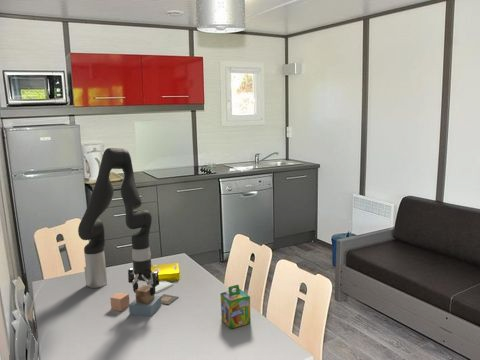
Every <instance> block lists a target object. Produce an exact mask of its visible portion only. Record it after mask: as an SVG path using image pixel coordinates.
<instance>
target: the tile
mask: <svg viewBox="0 0 480 360" xmlns="http://www.w3.org/2000/svg"><path fill="white" fill-rule="evenodd" d="M160 297H161V305H167V306H169V305H171V304H172V303H174V302H175V301H176V300H177V299H179V296H177V295H176V296H175V295H172V294H165V293H164V294H162V295H160Z"/></svg>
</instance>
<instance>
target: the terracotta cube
mask: <svg viewBox="0 0 480 360" xmlns="http://www.w3.org/2000/svg"><path fill="white" fill-rule="evenodd" d="M130 303H131V302H130V295H129V293H125V292H117V293H115V294H114V295H112V296H110V309H111V310H113V311H114V310H115V311H118V312H119V311H120V312H122V311H124V310H126V309H127V308H129V304H130Z"/></svg>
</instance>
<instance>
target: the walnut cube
mask: <svg viewBox="0 0 480 360" xmlns="http://www.w3.org/2000/svg"><path fill="white" fill-rule="evenodd" d="M134 294H135V299H136V302H137V303H142V304H148V303H150V302H151V301H152V300H154V299H155V298H154V296H155V295H153V296H151V295H150V286H149V285H143V284H142V285H141V286H139V287H138V289H136V290H135V293H134Z"/></svg>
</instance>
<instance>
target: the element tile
mask: <svg viewBox="0 0 480 360" xmlns="http://www.w3.org/2000/svg"><path fill="white" fill-rule="evenodd" d="M151 271H152V272H156V271H157V272H158V278H159V282H160V281H162V280H163V281H166V282H173V281H179V280H180V279H181V274H180V272H181V271H180V265H179V263H178V262H171V263H162V264H161V263H160V264H151ZM151 276H152V275H151Z"/></svg>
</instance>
